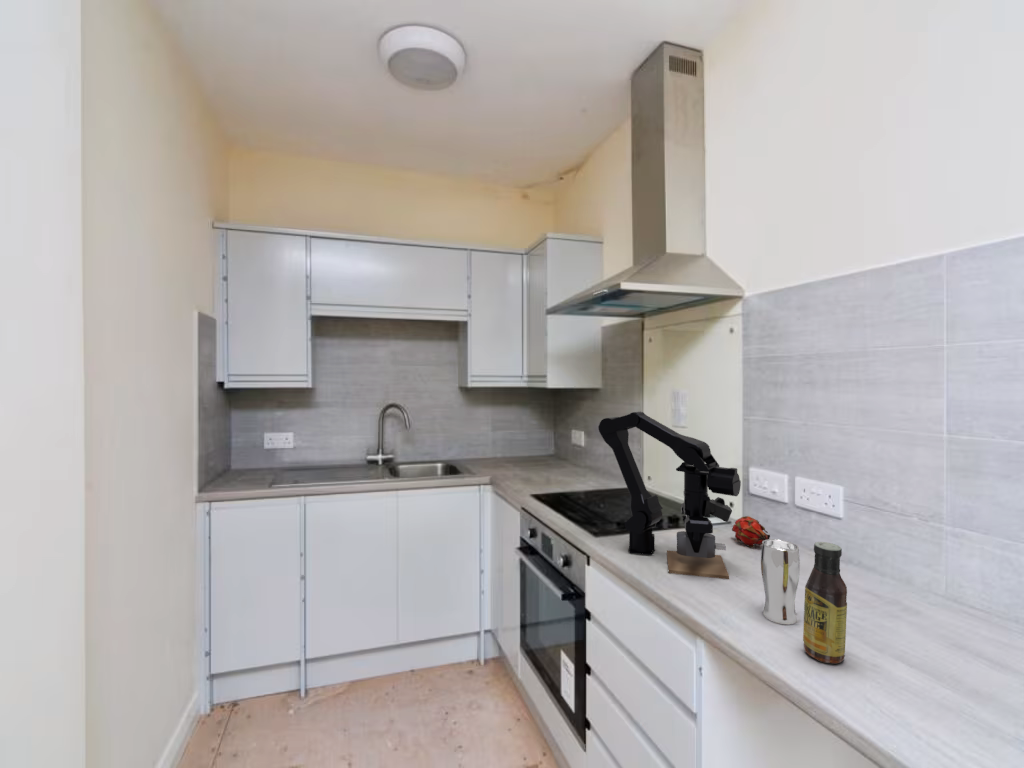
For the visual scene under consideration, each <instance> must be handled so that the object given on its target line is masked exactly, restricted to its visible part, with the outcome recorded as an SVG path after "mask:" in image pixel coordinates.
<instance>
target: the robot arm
mask: <svg viewBox="0 0 1024 768" xmlns="http://www.w3.org/2000/svg"><path fill="white" fill-rule="evenodd" d="M597 427H598V432H599V434H600V436H601V437H602V440H603V441H604V442H605V443H606V444H607V445H608V447H609V448H611V449H612V452H613V454H614V456H615V459H616V461H617V464H618V467H619V470H620V472H621V475H622V477H623V480H624V482H625V485H626V488H627V491H628V493H629V495H630V512H631V516H630V518H628V519H627V520H626V521H625V522H624V527H625V531H627V532H628V533H629V535H628V537H629V538H628V539H629V541H628V542H629V544H628V553H629V554H634V555H635V554H636V555H646V556H648V555H649V556H654V551H655V549H656V548H655V547H656V546H655V543H656V542H655V540H656V539H655V538H656V537H655V533H653V528H655V527H656V525H657V523H658V522H660V521H661V519H662V517H663V511H662V510H663V508H664V507H662V505H661V503H660V500H659V497H658V495H657V494H655V495H652V494H650V492H649V491H648V490H647V487H646V486H645V482H644V480H643V477H642V475H641V472H640V470H639V467H638V465H637V463H636V461H635V457H634V455H633V452H632V450H631V448H630V445H629V430H631V429H633V428H637V429H638V430H639V431H642V432H644V433H645V434H647V435H648V436H650V437H651V438H653V439H655V440H657V441H659V442H660V443H662V444H664V445H665V446H667V447H669V448H670V449H671V450H672V451H673V453H674V454H675V455H676V456H677V457H678V458H679V459H680V460H682V461H683V462H681V464H680V465H679V466H678V467H676V469H675V470H676V471H677V472H683V473H684V475H683V479H684V480H683V481H684V482H683V484H684V485H683V502H682V503H681V504H680V513H681V515H682V516H681V517H682V521H683V524H684V531H686V532H687V535H688V537H689V540H690V543H691V545H692V548H693V550H694V552H695V553H699V550H700V546H701V542H702V539H703V536H704V534H706V533H709V534H713V532H714V529H713V527H714V525H713V523H712V521H711V520H710V519H709V518H710V517H711V516H712V517H715V518H717V519H720V520H722V521H723V522H725V523H728V522H729V520H730V518H731V514H732V513H733V510H732V508H731V507H730V506H729V505H727V504H726V502H725V499H724V498H722V497H719V496H718V497H716V498H715V499H711V497H710V496H709V493H708V491H711V493H713V494H719V495H725V496H726V495H727V496H731V497H738V496H739V494H740V491H741V485H742V483H741V480H740V474H739V473H738V467H737V468H736V467H723V466H720V464H719V463H718V462H717V460H716V458H715V457H714V456H713V454H712V451H711V448H710V446H709V444H708V443H707V442H705V441H703V440H700V439H697V438H695V437H691V436H687V435H684V434H681V433H678V432H677V431H675V430H673V429H671V428H670V427H668V426H666V425H665V424H662V423H661V422H659V421H657V420H656V419H654V418H652V417H650V416H648V415H647V414H645V412H643V411H634V412H633V411H632V412H631V413H628V414H626V415H622V416H612V417H605V418H602V420H600V421H599V423H598V426H597ZM683 514H684V515H683Z"/></svg>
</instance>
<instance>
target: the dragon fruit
mask: <svg viewBox="0 0 1024 768" xmlns="http://www.w3.org/2000/svg"><path fill="white" fill-rule="evenodd" d="M731 531H732V532H734V533H735V534H734V536H735V540H736V541H737V542H743V543H744V544H745V545H746V546H747V547H749V548H754V549H755V548H757V547H756V546H755V545H761V546H762V541H764V540H768V539H771V534H768V531H767V530H766V527H764V526H763V525H762V524H761V523H760V521H759V520H758V519H756V518H753V517H752V516H749V515H747V516H741V517H740V518H737V520H735V521H734V524H733V525H732V528H731Z"/></svg>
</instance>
